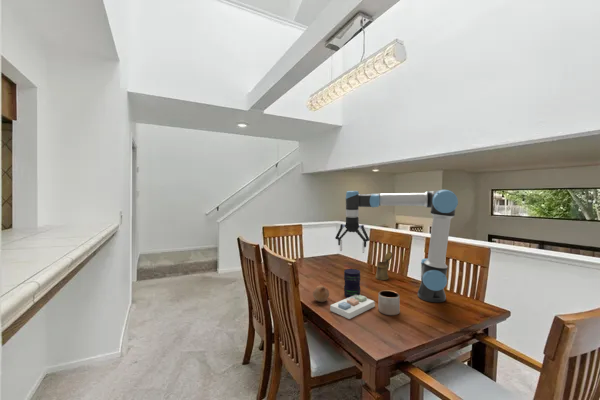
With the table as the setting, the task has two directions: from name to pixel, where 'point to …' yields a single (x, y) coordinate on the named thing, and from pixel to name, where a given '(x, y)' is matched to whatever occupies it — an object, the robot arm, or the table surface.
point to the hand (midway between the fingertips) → (352, 251)
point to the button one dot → (344, 305)
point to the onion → (321, 293)
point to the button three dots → (353, 301)
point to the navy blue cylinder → (351, 282)
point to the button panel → (352, 308)
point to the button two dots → (361, 298)
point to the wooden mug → (383, 268)
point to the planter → (389, 302)
